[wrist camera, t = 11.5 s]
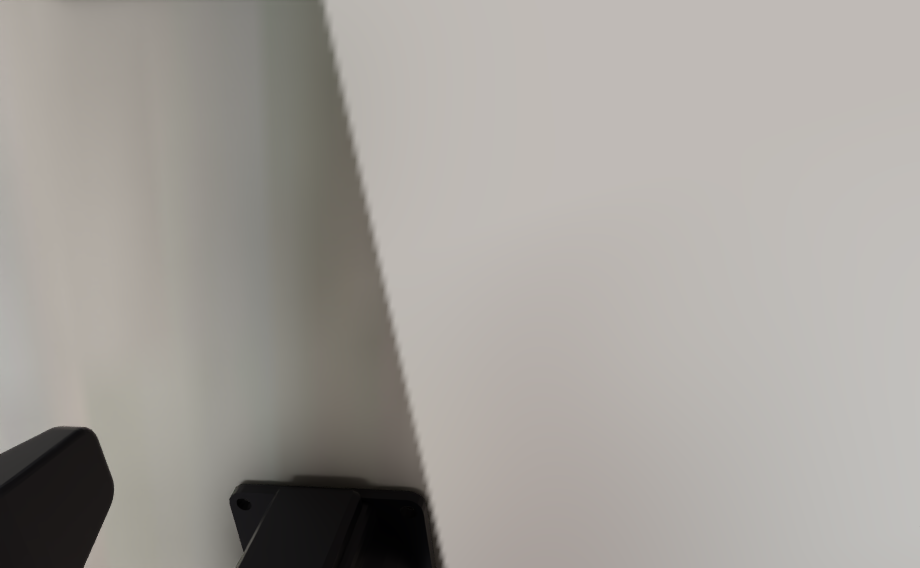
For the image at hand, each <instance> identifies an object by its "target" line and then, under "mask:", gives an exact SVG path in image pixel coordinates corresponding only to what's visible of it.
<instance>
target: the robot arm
mask: <svg viewBox="0 0 920 568" xmlns="http://www.w3.org/2000/svg"><path fill="white" fill-rule="evenodd" d="M113 495H114V483H113V479H112V476H111V473H110V471H109V468H108V465H107V462H106V460H105V457H104V454H103V451H102V449H101V446H100V443H99V440H98V438H97V436H96V434H95V433H94V432H93V431H92V430H91V429H89V428H86V427H68V426H60V427H54V428H52V429H49V430H47V431H45V432H43V433H41V434H39V435H37V436H35V437H33V438H31V439H29V440H27V441H25V442H23V443H21V444H19V445H17V446H15V447H13V448H11V449H9V450H7V451H5V452H3V453H1V454H0V568H84V565H85V563H86V561H87V558H88V556H89V554H90V552H91V549H92V547H93V545H94V543H95V540H96V538H97V536H98V533H99V531H100V529H101V527H102V524H103V522H104V520H105V517H106V515H107V513H108V511H109V508H110V506H111V503H112V500H113ZM244 499H247V500H248V501H249V502H248V501H246V500H244ZM229 500H230V506H231V510H232V513H233V517H234V520H235V524H236V527H237V531H238V534H239V538H240V541H241V545H242V548H243V551H244V553H243V555H242V557H241V559H240V561H239V563H238V564H237V566H236V568H436V565H435V558H434V552H433V545H432V538H431V532H430V525H429V519H428V512H427V505H426V502H425V500H424V498H423V497H422V496H421V495H419V494H417V493H415V492H410V491H393V490H370V489H347V488H324V487H301V486H278V485H255V484H242V485H239V486H237V487H236V489H235V490H234V492H233V494H232V495H231V497H230V499H229ZM405 506H409V507H412V508H413V510H411V509H408V508H406V507H405Z"/></svg>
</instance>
